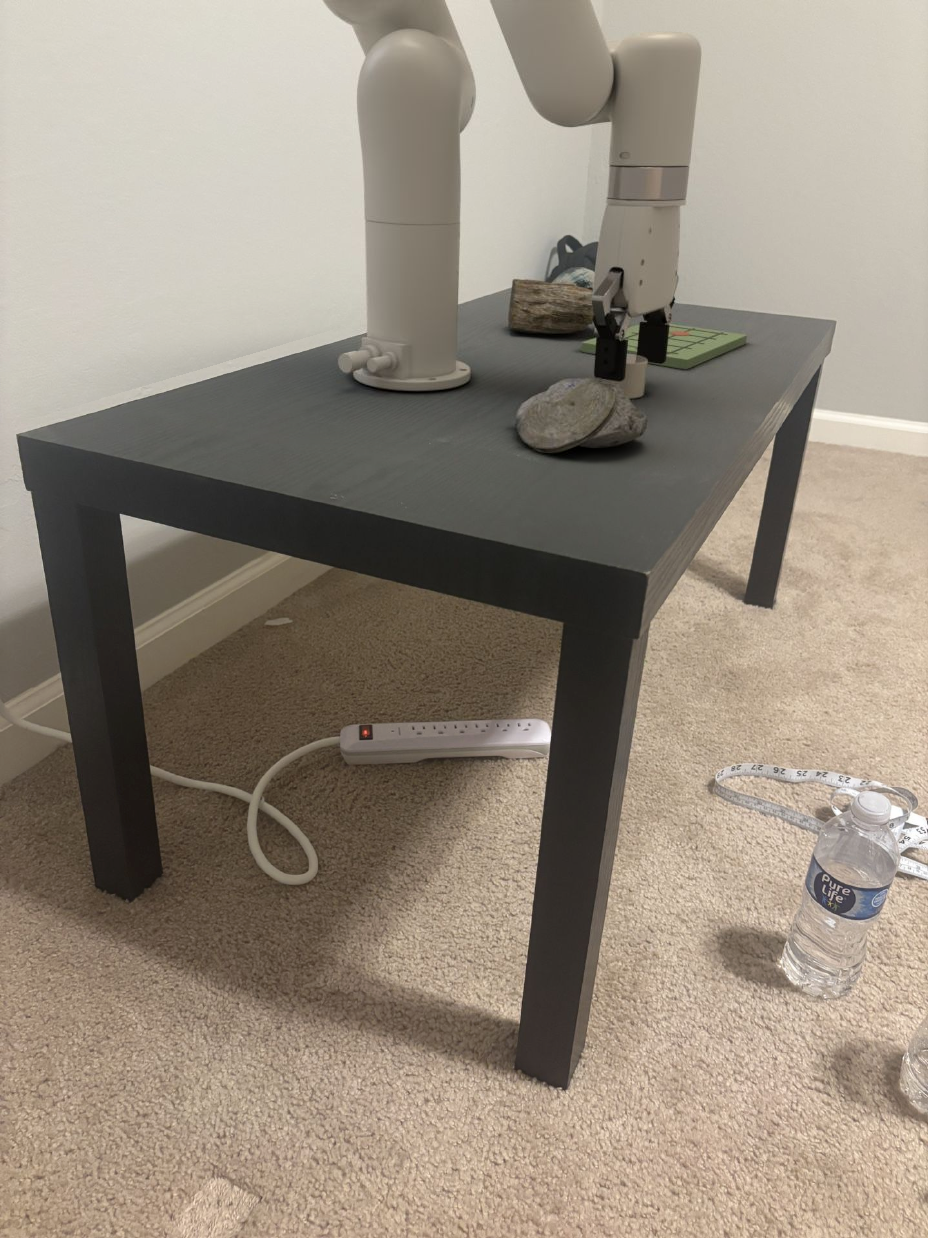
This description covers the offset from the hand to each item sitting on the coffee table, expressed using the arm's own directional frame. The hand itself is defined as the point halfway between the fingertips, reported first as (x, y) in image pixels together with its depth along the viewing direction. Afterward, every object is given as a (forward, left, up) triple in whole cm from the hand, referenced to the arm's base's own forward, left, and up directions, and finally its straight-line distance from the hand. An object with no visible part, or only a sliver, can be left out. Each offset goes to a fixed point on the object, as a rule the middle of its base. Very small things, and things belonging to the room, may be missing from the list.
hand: (630, 370), depth 94 cm
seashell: (+40, +28, -3) cm, 48 cm away
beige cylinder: (0, +1, -2) cm, 3 cm away
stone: (+24, +23, -3) cm, 33 cm away
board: (+25, +7, -2) cm, 26 cm away
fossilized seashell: (-18, -4, -3) cm, 19 cm away
